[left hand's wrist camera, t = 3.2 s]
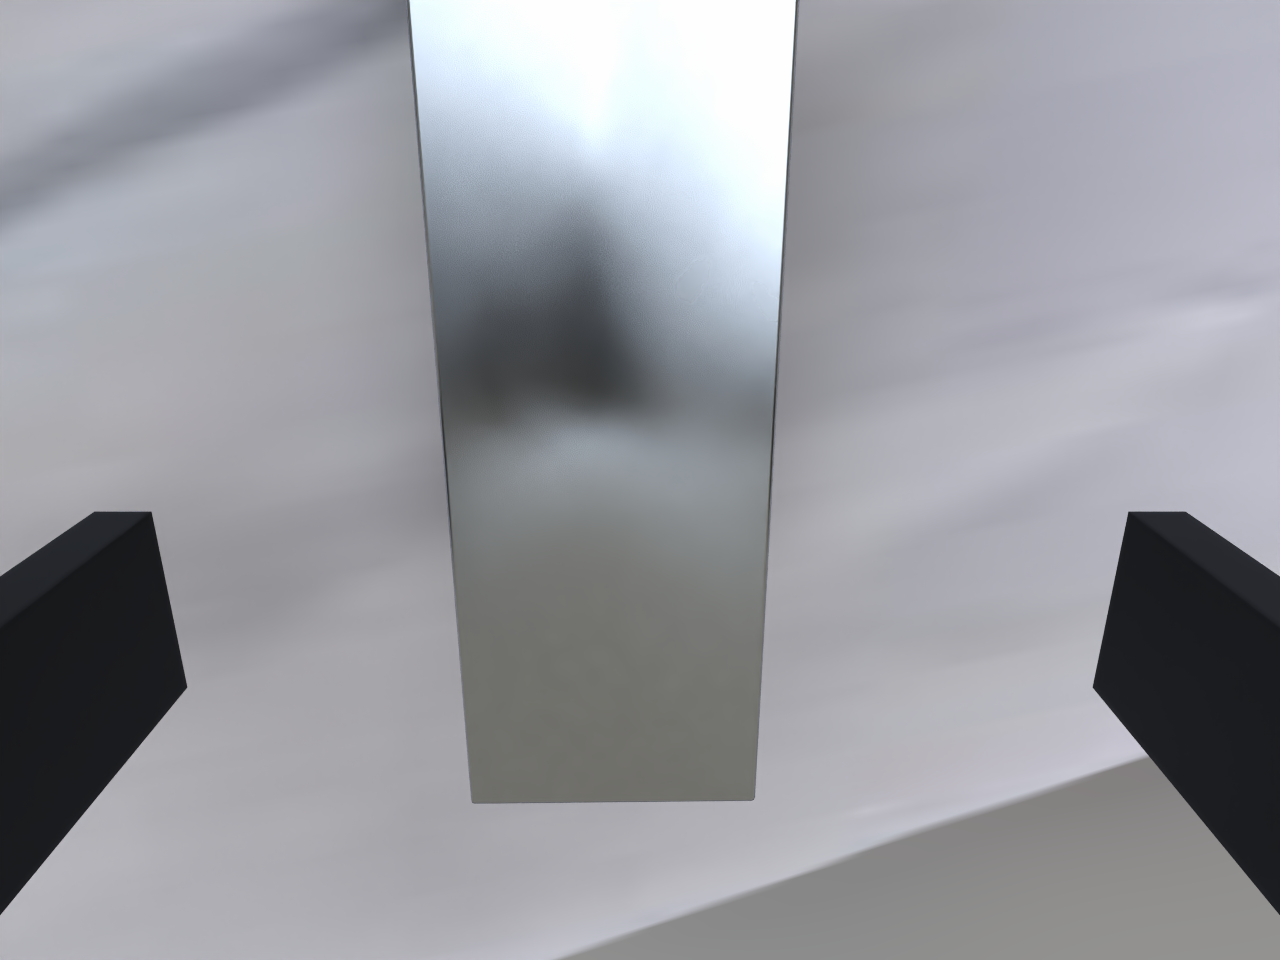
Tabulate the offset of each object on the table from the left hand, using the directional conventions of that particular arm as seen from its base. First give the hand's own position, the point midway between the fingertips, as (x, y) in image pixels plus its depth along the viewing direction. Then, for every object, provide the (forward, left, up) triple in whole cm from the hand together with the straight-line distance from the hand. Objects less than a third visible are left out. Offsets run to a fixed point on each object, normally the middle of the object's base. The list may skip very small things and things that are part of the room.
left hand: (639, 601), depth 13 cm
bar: (-7, +4, -9) cm, 12 cm away
